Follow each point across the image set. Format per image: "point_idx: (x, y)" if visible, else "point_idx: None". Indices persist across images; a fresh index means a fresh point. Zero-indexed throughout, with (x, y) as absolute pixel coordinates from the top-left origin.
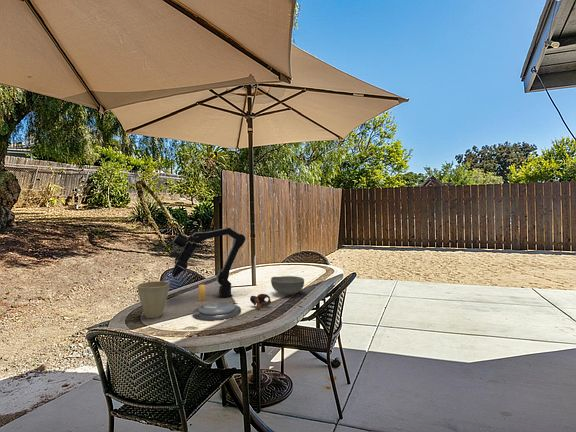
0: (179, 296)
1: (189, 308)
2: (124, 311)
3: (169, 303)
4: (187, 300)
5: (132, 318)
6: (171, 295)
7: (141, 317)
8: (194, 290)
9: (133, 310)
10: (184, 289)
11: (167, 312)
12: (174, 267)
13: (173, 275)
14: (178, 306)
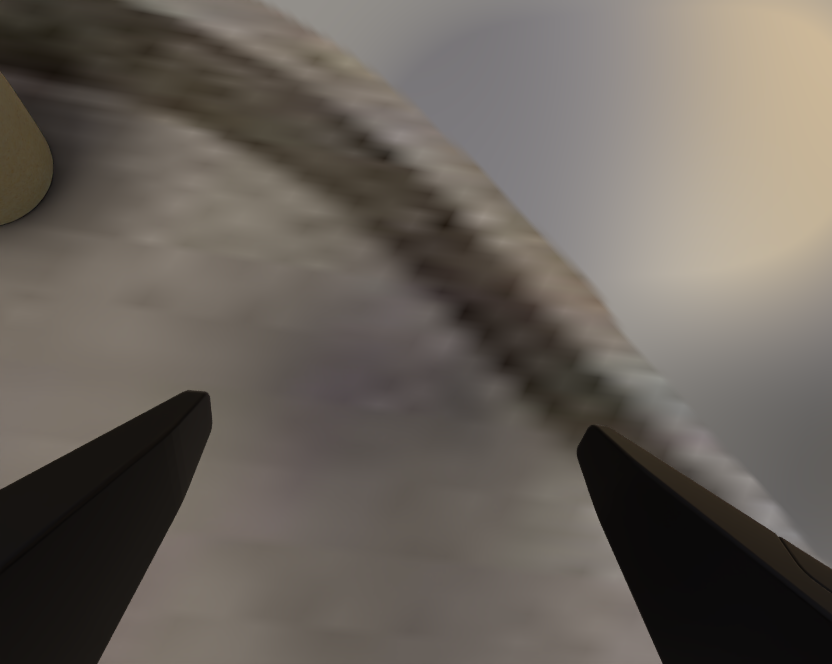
0: (522, 456)
1: None
2: (276, 10)
3: (332, 346)
4: (352, 507)
5: (19, 15)
6: (583, 397)
7: None
8: None
9: (268, 67)
10: None
11: (28, 285)
12: (749, 565)
13: (155, 418)
14: None
